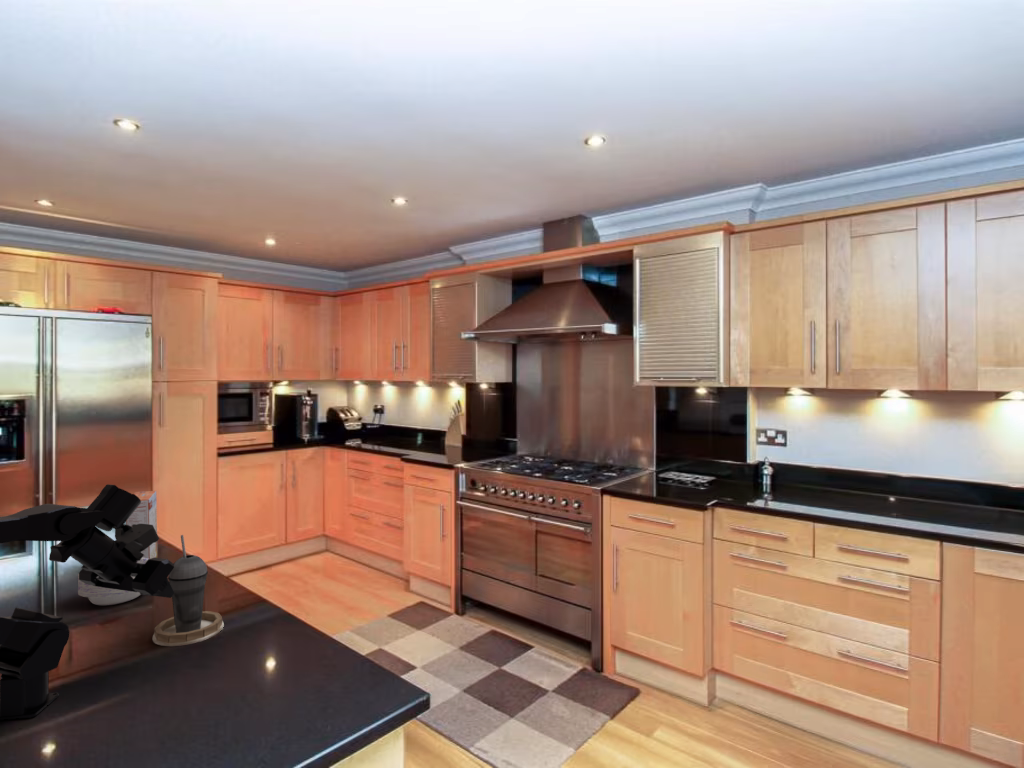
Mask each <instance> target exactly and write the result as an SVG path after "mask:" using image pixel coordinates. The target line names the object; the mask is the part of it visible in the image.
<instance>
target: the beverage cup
mask: <svg viewBox="0 0 1024 768" xmlns="http://www.w3.org/2000/svg"><path fill="white" fill-rule="evenodd" d="M180 540H181V548H182V557H179V558H178V559H176V561H175V562H174V563H173V564H174V568H173V570H172V571H171V573H170V574H169V575H168V577H167V578H168V581H169V583H170V585H171V587H172V589H173V591H174V594H173V596H172V597H171V599H172V610H173V617H174V622H175V628H176V633H184V632H190V631H194V630H198V629H200V628H201V621H202V611H204V610H203V608H204V599H205V598H204V597H205V588H206V587H205V585H206V581H207V578H208V574H209V572H208V567H207V564H206V562H205V561H204V559H203V558H201V557H200V556H198V555H195V554H187V552H186V546H185V538H184V534H180Z"/></svg>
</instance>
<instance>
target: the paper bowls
mask: <svg viewBox="0 0 1024 768" xmlns="http://www.w3.org/2000/svg"><path fill="white" fill-rule="evenodd" d="M147 561H148V558H141V560H140V561H137V563H141V564H145V563H146V562H147ZM131 577H132V578H133V579H134V578H135V577H134V576H131ZM77 582H78V584H77V585H78V586H77V587H78V588H77V594H78V596H80V597H84V598H87V599H88V600H89V601H90V603H92V604H93V605H96V606H113V605H118V604H123V603H126V602H129V601H130V602H131V600H134V599H136V598H138V597H139V596H141V595H142V594H140V593H139V592H132V591H125V590H117V589H110V588H103V587H97V586H93V585H88V584H85V583H84V582H82V581H80V580H79V573H78V574H77Z"/></svg>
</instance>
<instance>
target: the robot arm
mask: <svg viewBox="0 0 1024 768" xmlns="http://www.w3.org/2000/svg"><path fill="white" fill-rule="evenodd" d="M140 503H141V500H140V499H139V498H138V497H137V496H136V495H135V494H134V493H131V492H129V491H127V490H125V489H123V488H120V487H118V486H117V485H116V484H109V483H108V484H106V485H105V486H104V487H103V488H102V490H101V491H100V493H99V494H98V495H97V496H96V497H95V499H94V500H93V501H92V502H91V503H89V505H88V507H80V506H79V507H77V506H75V505H74V506H73V505H65V504H54V503H43V504H40V505H36V506H32V507H29V508H25V509H22V510H21V511H17V512H16V513H12V514H8V515H4V516H0V544H3V543H5V544H6V543H11V542H16V541H21V542H22V541H23V542H27V541H28V542H30V541H31V542H58V543H57V544H54V545H51V546H50V548H49V549H50V553H49V557H48V560H49V561H51V562H56V563H57V562H58V563H66V562H67V561H68V560H69V559H70V558H72V559H73V560H75V561H76V562H78V563H80V564H81V565H82V566H81V570H80V571H79V572H78V574H79V580H80V581H82V582H84V583H85V584H88V585H93V586H97V587H103V588H110V589H117V590H125V591H132V592H139V593H140V594H141V595H143V596H144V595H145V596H150V597H152V596H153V597H159V598H160V597H161V598H168V599H172V596H173V594H174V591H173V589H172V587H171V585H170V583H169V579H168V577H169V574H170V573H171V571H172V570H173V568H174V563H173V562H172V561H171V560H169V559H168V558H161V557H157V558H151V559H148V561H147V562H146V563H145V564H141V563H137V561H140V560H141V558H142V557H143V556H144V554H142V553H141V552H142V551H143V550H145V549H146V548H147V547H149V546H150V545H151V544H153V543H154V542H157V543H158V541H159V540H160V536H159V535H158V532H157V533H156V531H155V529H154V527H153V525H149V524H137V525H136V524H133V525H132V527H131V526H129V525H126V521H127V519H128V518H129V517H130V516H131V515H132V513H133V512H134V511H135V510H136V508H137V507H138V506H139V505H140ZM113 529H114V539H113V538H111V537H110V536H109V535H108V534H107V533H105V532H111V531H112V530H113ZM104 531H105V532H104ZM131 576H134V577H135V578H134V579H133V578H132V577H131ZM62 620H63V617H62V616H57V615H53V614H47V613H44V612H39V611H35V610H29V609H25V608H19V607H15V608H14V610H13V613H12V614H11V616H0V721H5V720H4V719H8V720H17V719H16V718H19V719H26V718H27V719H29V718H34V717H36V716H37V715H39V714H40V713H41V712H42V711H43V710H45V708H47V705H48V706H49V705H50V704H51V703H52V702H54V700H56V698H59V695H60V693H59V692H49V690H50V689H49V688H50V687H49V686H50V685H49V684H50V683H49V680H50V679H49V677H50V676H49V672H51V671H53V670H55V669H57V668H58V667H59V664H60V661H61V658H62V656H63V652H64V649H65V647H66V645H67V643H68V641H69V639H70V630H69V625H68V624H67V623H65V622H63V621H62Z"/></svg>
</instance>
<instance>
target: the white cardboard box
mask: <svg viewBox="0 0 1024 768" xmlns="http://www.w3.org/2000/svg"><path fill="white" fill-rule="evenodd" d="M133 494H135V495H136V496H137V497H138V498H139V499H140V500H141V503H140V505H139V506H138V507H137V508H136V510H135V511H134V512H133V513H132V515H131V516H130V517H129V518H128V519H127V521H126V522H125V524H126V525H129V526H131V527H132V525H133V524H136V525H137V524H149V525H153V527H154V529H155V531H156V533H157V534H158V518H157V517H158V515H157V514H158V513H157V512H158V511H157V510H158V509H157V507H158V506H157V505H158V503H157V490H150V491H149V490H147V491H146V490H145V491H135V492H134V493H133ZM141 553H142V554H144V556H143V557H142V558H148V559H151V558H158V541H157V542H154V543H153V544H151V545H150V546H149V547H147V548H146V549H145V550H143V551H142V552H141Z"/></svg>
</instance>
